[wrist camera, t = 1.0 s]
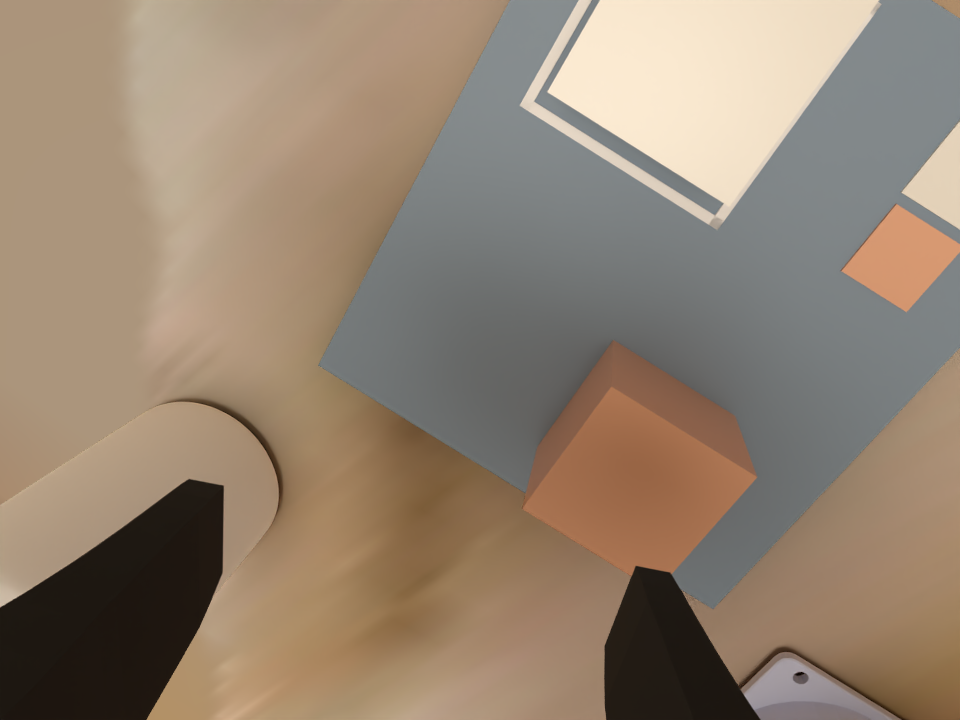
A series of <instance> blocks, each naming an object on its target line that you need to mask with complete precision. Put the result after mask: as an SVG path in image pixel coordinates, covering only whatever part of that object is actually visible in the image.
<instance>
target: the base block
mask: <svg viewBox="0 0 960 720" xmlns="http://www.w3.org/2000/svg"><path fill="white" fill-rule="evenodd" d="M878 1H879V0H600V1H599V3H598V4H597V6H596V8H595V10H594V11H593V13H592V15H591V17H590V18H589V20H588V22H587V23H586V25H585V27H584V29H583V30H582V32H581V34H580V36H579V37H578V39H577V41H576V43H575V44H574V46H573V48H572V50H571V51H570V53H569V55H568V57H567V58H566V60H565V62H564V64H563V65H562V67H561V69H560V71H559V72H558V74H557V76H556V78H555V79H554V81H553V83H552V84H551V86H550V88H549V90H548V91H547V92H548V93H550V94H551V95H553V96H554V97H556V98H557V99H559V100H561V101H562V102H564V103H565V104H567V105H569V106H570V107H572V108H573V109H575V110H576V111H578V112H580V113H581V114H583V115H584V116H586V117H588V118H589V119H591V120H592V121H594V122H596V123H597V124H599V125H600V126H602V127H603V128H605V129H607V130H608V131H610V132H611V133H613V134H615V135H616V136H618V137H619V138H621V139H622V140H624V141H626V142H627V143H629V144H630V145H632V146H634V147H635V148H637V149H638V150H640V151H642V152H643V153H645V154H646V155H648V156H649V157H651V158H653V159H654V160H656V161H657V162H659V163H661V164H662V165H664V166H665V167H667V168H668V169H670V170H672V171H673V172H675V173H676V174H678V175H680V176H681V177H683V178H684V179H686V180H688V181H689V182H691V183H692V184H694V185H695V186H697V187H699V188H700V189H702V190H703V191H705V192H707V193H708V194H710V195H711V196H713V197H714V198H716V199H718V200H719V201H721V202H722V203H724V204H726V205H727V206H729V207H730V206H731V204H732V203H733V202H734V200H735V199H736V197H737V196H738V195H739V193H740V192H741V191H742V189H743V188H744V186H745V185H746V184H747V182H748V181H749V179H750V178H751V177H752V175H753V174H754V173H755V171H756V170H757V168H758V167H759V166H760V164H761V163H762V162H763V160H764V159H765V157H766V156H767V155H768V153H769V152H770V150H771V149H772V148H773V146H774V145H775V144H776V142H777V141H778V139H779V138H780V137H781V135H782V134H783V133H784V131H785V130H786V128H787V127H788V126H789V124H790V123H791V121H792V120H793V119H794V117H795V116H796V115H797V113H798V112H799V110H800V109H801V108H802V106H803V105H804V104H805V102H806V101H807V99H808V98H809V97H810V95H811V94H812V92H813V91H814V90H815V88H816V87H817V86H818V84H819V83H820V81H821V80H822V79H823V77H824V76H825V75H826V73H827V72H828V70H829V69H830V68H831V66H832V65H833V63H834V62H835V61H836V59H837V58H838V57H839V55H840V54H841V52H842V51H843V50H844V48H845V47H846V45H847V44H848V43H849V41H850V40H851V39H852V37H853V36H854V34H855V33H856V32H857V30H858V29H859V28H860V26H861V25H862V23H863V22H864V21H865V19H866V18H867V16H868V15H869V14H870V12H871V11H872V10H873V8H874V7H875V5H876V4H877V3H878Z"/></svg>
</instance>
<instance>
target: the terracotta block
mask: <svg viewBox="0 0 960 720" xmlns="http://www.w3.org/2000/svg"><path fill="white" fill-rule="evenodd" d="M756 478H757V475H756V472H755V470H754V467H753V464H752V461H751V459H750V456H749V453H748V450H747V447H746V445H745V442H744V439H743V436H742V433H741V431H740V428H739V425H738V422H737V420H736V417H735V415H733V414H731V413H730V412H728V411H727V410H725V409H723V408H722V407H720V406H719V405H717V404H715V403H714V402H712V401H711V400H709V399H707V398H706V397H704V396H702V395H701V394H699V393H698V392H696V391H694V390H693V389H691V388H690V387H688V386H686V385H685V384H683V383H682V382H680V381H678V380H677V379H675V378H674V377H672V376H670V375H669V374H667V373H666V372H664V371H662V370H661V369H659V368H658V367H656V366H654V365H653V364H651V363H650V362H648V361H646V360H645V359H643V358H642V357H640V356H638V355H637V354H635V353H634V352H632V351H630V350H629V349H627V348H626V347H624V346H622V345H621V344H619V343H618V342H616V341H614V340H613V341H612V342H611V344H610V345H609V347H608V348H607V349H606V351H605V352H604V354H603V355H602V356H601V358H600V359H599V361H598V362H597V363H596V365H595V366H594V368H593V369H592V371H591V372H590V373H589V375H588V376H587V378H586V379H585V380H584V382H583V383H582V385H581V386H580V387H579V389H578V390H577V392H576V393H575V394H574V396H573V397H572V399H571V400H570V401H569V403H568V404H567V406H566V407H565V408H564V410H563V411H562V413H561V414H560V416H559V417H558V418H557V420H556V421H555V423H554V424H553V425H552V427H551V428H550V430H549V431H548V432H547V434H546V435H545V437H544V438H543V439H542V441H541V442H540V444H539V445H538V446H537V450H536V454H535V458H534V462H533V466H532V470H531V474H530V478H529V482H528V486H527V490H526V494H525V498H524V502H523V506H522V509H523V510H525V511H526V512H528V513H530V514H531V515H533V516H534V517H536V518H538V519H539V520H541V521H543V522H544V523H546V524H547V525H549V526H551V527H552V528H554V529H556V530H557V531H559V532H560V533H562V534H564V535H565V536H567V537H568V538H570V539H572V540H573V541H575V542H577V543H578V544H580V545H581V546H583V547H585V548H586V549H588V550H590V551H591V552H593V553H594V554H596V555H598V556H599V557H601V558H603V559H604V560H606V561H607V562H609V563H611V564H612V565H614V566H615V567H617V568H619V569H620V570H622V571H624V572H625V573H627V574H628V575H630V576H632V574H633V571H634V569H635V566H640V567H645V568H650V569H655V570H660V571H665V572H670V573H671V574H672V573H673V572H674V571H675V570H676V569H677V567H678V566H679V565H680V564H681V563H682V562H683V561H684V560H685V558H686V557H687V556H688V555H689V554H690V553H691V552H692V550H693V549H694V548H695V547H696V546H697V545H698V544H699V543H700V541H701V540H702V539H703V538H704V537H705V536H706V535H707V534H708V532H709V531H710V530H711V529H712V528H713V527H714V526H715V525H716V523H717V522H718V521H719V520H720V519H721V518H722V517H723V515H724V514H725V513H726V512H727V511H728V510H729V509H730V508H731V506H732V505H733V504H734V503H735V502H736V501H737V500H738V499H739V497H740V496H741V495H742V494H743V493H744V492H745V491H746V489H747V488H748V487H749V486H750V485H751V484H752V483H753V482H754V480H755V479H756Z"/></svg>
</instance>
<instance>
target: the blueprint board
mask: <svg viewBox="0 0 960 720" xmlns="http://www.w3.org/2000/svg"><path fill="white" fill-rule="evenodd" d="M599 1H600V0H510V1H509V3H508V5H507V7H506V9H505V11H504V13H503V15H502V17H501V19H500V20H499V22H498V24H497V26H496V28H495V30H494V32H493V34H492V36H491V38H490V40H489V41H488V43H487V45H486V47H485V49H484V51H483V53H482V55H481V57H480V59H479V60H478V62H477V64H476V66H475V68H474V70H473V72H472V74H471V76H470V78H469V79H468V81H467V83H466V85H465V87H464V89H463V91H462V93H461V95H460V97H459V98H458V100H457V102H456V104H455V106H454V108H453V110H452V112H451V114H450V116H449V117H448V119H447V121H446V123H445V125H444V127H443V129H442V131H441V133H440V135H439V137H438V138H437V140H436V142H435V144H434V146H433V148H432V150H431V152H430V154H429V156H428V157H427V159H426V161H425V163H424V165H423V167H422V169H421V171H420V173H419V175H418V176H417V178H416V180H415V182H414V184H413V186H412V188H411V190H410V192H409V194H408V195H407V197H406V199H405V201H404V203H403V205H402V207H401V209H400V211H399V213H398V214H397V216H396V218H395V220H394V222H393V224H392V226H391V228H390V230H389V232H388V234H387V235H386V237H385V239H384V241H383V243H382V245H381V247H380V249H379V251H378V253H377V254H376V256H375V258H374V260H373V262H372V264H371V266H370V268H369V270H368V272H367V273H366V275H365V277H364V279H363V281H362V283H361V285H360V287H359V289H358V291H357V292H356V294H355V296H354V298H353V300H352V302H351V304H350V306H349V308H348V310H347V311H346V313H345V315H344V317H343V319H342V321H341V323H340V325H339V327H338V329H337V331H336V332H335V334H334V336H333V338H332V340H331V342H330V344H329V346H328V348H327V350H326V351H325V353H324V355H323V357H322V359H321V361H320V363H319V365H318V366H320V367H322V368H323V369H325V370H327V371H328V372H330V373H331V374H333V375H335V376H336V377H338V378H339V379H341V380H343V381H344V382H346V383H348V384H349V385H351V386H352V387H354V388H356V389H357V390H359V391H361V392H362V393H364V394H365V395H367V396H369V397H370V398H372V399H374V400H375V401H377V402H378V403H380V404H382V405H383V406H385V407H386V408H388V409H390V410H391V411H393V412H395V413H396V414H398V415H399V416H401V417H403V418H404V419H406V420H408V421H409V422H411V423H412V424H414V425H416V426H417V427H419V428H420V429H422V430H424V431H425V432H427V433H429V434H430V435H432V436H433V437H435V438H437V439H438V440H440V441H442V442H443V443H445V444H446V445H448V446H450V447H451V448H453V449H454V450H456V451H458V452H459V453H461V454H463V455H464V456H466V457H467V458H469V459H471V460H472V461H474V462H476V463H477V464H479V465H480V466H482V467H484V468H485V469H487V470H489V471H490V472H492V473H493V474H495V475H497V476H498V477H500V478H501V479H503V480H505V481H506V482H508V483H510V484H511V485H513V486H514V487H516V488H518V489H519V490H521V491H523V492H524V493H526V490H527V486H528V482H529V478H530V474H531V470H532V466H533V462H534V458H535V454H536V450H537V446H538V445H539V444H540V442H541V441H542V439H543V438H544V437H545V435H546V434H547V432H548V431H549V430H550V428H551V427H552V425H553V424H554V423H555V421H556V420H557V418H558V417H559V416H560V414H561V413H562V411H563V410H564V408H565V407H566V406H567V404H568V403H569V401H570V400H571V399H572V397H573V396H574V394H575V393H576V392H577V390H578V389H579V387H580V386H581V385H582V383H583V382H584V380H585V379H586V378H587V376H588V375H589V373H590V372H591V371H592V369H593V368H594V366H595V365H596V363H597V362H598V361H599V359H600V358H601V356H602V355H603V354H604V352H605V351H606V349H607V348H608V347H609V345H610V344H611V342H612V341H613V340H614V341H616V342H618V343H619V344H621V345H622V346H624V347H626V348H627V349H629V350H630V351H632V352H634V353H635V354H637V355H638V356H640V357H642V358H643V359H645V360H646V361H648V362H650V363H651V364H653V365H654V366H656V367H658V368H659V369H661V370H662V371H664V372H666V373H667V374H669V375H670V376H672V377H674V378H675V379H677V380H678V381H680V382H682V383H683V384H685V385H686V386H688V387H690V388H691V389H693V390H694V391H696V392H698V393H699V394H701V395H702V396H704V397H706V398H707V399H709V400H711V401H712V402H714V403H715V404H717V405H719V406H720V407H722V408H723V409H725V410H727V411H728V412H730V413H731V414H733V415H735V417H736V420H737V422H738V425H739V428H740V431H741V433H742V436H743V439H744V442H745V445H746V447H747V450H748V453H749V456H750V459H751V461H752V464H753V467H754V470H755V472H756V475H757V478H756V479H755V480H754V482H753V483H752V484H751V485H750V486H749V487H748V488H747V489H746V491H745V492H744V493H743V494H742V495H741V496H740V497H739V499H738V500H737V501H736V502H735V503H734V504H733V505H732V506H731V508H730V509H729V510H728V511H727V512H726V513H725V514H724V515H723V517H722V518H721V519H720V520H719V521H718V522H717V523H716V525H715V526H714V527H713V528H712V529H711V530H710V531H709V532H708V534H707V535H706V536H705V537H704V538H703V539H702V540H701V541H700V543H699V544H698V545H697V546H696V547H695V548H694V549H693V550H692V552H691V553H690V554H689V555H688V556H687V557H686V558H685V560H684V561H683V562H682V563H681V564H680V565H679V566H678V567H677V569H676V570H675V571H674V572H673V573H672V576H673V577H674V579H675V581H676V582H677V584H678V586H679V588H680V589H681V590H683V591H684V592H686V593H688V594H689V595H691V596H693V597H694V598H696V599H697V600H699V601H701V602H702V603H704V604H706V605H707V606H709V607H710V608H712V609H714V608H715V607H716V606H717V604H718V603H719V602H720V601H721V600H722V599H723V598H724V597H725V596H726V595H727V594H728V593H729V592H730V591H731V590H732V589H733V588H734V586H735V585H736V584H737V583H738V582H739V581H740V580H741V579H742V578H743V577H744V576H745V575H746V574H747V573H748V572H749V571H750V569H751V568H752V567H753V566H754V565H755V564H756V563H757V562H758V561H759V560H760V559H761V558H762V557H763V556H764V555H765V554H766V553H767V551H768V550H769V549H770V548H771V547H772V546H773V545H774V544H775V543H776V542H777V541H778V540H779V539H780V538H781V537H782V536H783V535H784V533H785V532H786V531H787V530H788V529H789V528H790V527H791V526H792V525H793V524H794V523H795V522H796V521H797V520H798V519H799V518H800V516H801V515H802V514H803V513H804V512H805V511H806V510H807V509H808V508H809V507H810V506H811V505H812V504H813V503H814V502H815V501H816V500H817V498H818V497H819V496H820V495H821V494H822V493H823V492H824V491H825V490H826V489H827V488H828V487H829V486H830V485H831V484H832V483H833V481H834V480H835V479H836V478H837V477H838V476H839V475H840V474H841V473H842V472H843V471H844V470H845V469H846V468H847V467H848V466H849V465H850V463H851V462H852V461H853V460H854V459H855V458H856V457H857V456H858V455H859V454H860V453H861V452H862V451H863V450H864V449H865V448H866V446H867V445H868V444H869V443H870V442H871V441H872V440H873V439H874V438H875V437H876V436H877V435H878V434H879V433H880V432H881V431H882V430H883V428H884V427H885V426H886V425H887V424H888V423H889V422H890V421H891V420H892V419H893V418H894V417H895V416H896V415H897V414H898V413H899V412H900V410H901V409H902V408H903V407H904V406H905V405H906V404H907V403H908V402H909V401H910V400H911V399H912V398H913V397H914V396H915V395H916V393H917V392H918V391H919V390H920V389H921V388H922V387H923V386H924V385H925V384H926V383H927V382H928V381H929V380H930V379H931V378H932V377H933V375H934V374H935V373H936V372H937V371H938V370H939V369H940V368H941V367H942V366H943V365H944V364H945V363H946V362H947V361H948V360H949V358H950V357H951V356H952V355H953V354H954V353H955V352H956V351H957V350H958V349H959V348H960V18H958V17H957V16H955V15H953V14H952V13H950V12H949V11H947V10H946V9H944V8H942V7H941V6H939V5H938V4H936V3H935V2H933V1H932V0H879V1H878V3H877V4H876V5H875V7H874V8H873V10H872V11H871V12H870V14H869V15H868V16H867V18H866V19H865V21H864V22H863V23H862V25H861V26H860V28H859V29H858V30H857V32H856V33H855V34H854V36H853V37H852V39H851V40H850V41H849V43H848V44H847V45H846V47H845V48H844V50H843V51H842V52H841V54H840V55H839V57H838V58H837V59H836V61H835V62H834V63H833V65H832V66H831V68H830V69H829V70H828V72H827V73H826V75H825V76H824V77H823V79H822V80H821V81H820V83H819V84H818V86H817V87H816V88H815V90H814V91H813V92H812V94H811V95H810V97H809V98H808V99H807V101H806V102H805V104H804V105H803V106H802V108H801V109H800V110H799V112H798V113H797V115H796V116H795V117H794V119H793V120H792V121H791V123H790V124H789V126H788V127H787V128H786V130H785V131H784V133H783V134H782V135H781V137H780V138H779V139H778V141H777V142H776V144H775V145H774V146H773V148H772V149H771V150H770V152H769V153H768V155H767V156H766V157H765V159H764V160H763V162H762V163H761V164H760V166H759V167H758V168H757V170H756V171H755V173H754V174H753V175H752V177H751V178H750V179H749V181H748V182H747V184H746V185H745V186H744V188H743V189H742V191H741V192H740V193H739V195H738V196H737V197H736V199H735V200H734V202H733V203H732V204H731V206H730V207H729V206H727V205H726V204H724V203H722V202H721V201H719V200H718V199H716V198H714V197H713V196H711V195H710V194H708V193H707V192H705V191H703V190H702V189H700V188H699V187H697V186H695V185H694V184H692V183H691V182H689V181H688V180H686V179H684V178H683V177H681V176H680V175H678V174H676V173H675V172H673V171H672V170H670V169H668V168H667V167H665V166H664V165H662V164H661V163H659V162H657V161H656V160H654V159H653V158H651V157H649V156H648V155H646V154H645V153H643V152H642V151H640V150H638V149H637V148H635V147H634V146H632V145H630V144H629V143H627V142H626V141H624V140H622V139H621V138H619V137H618V136H616V135H615V134H613V133H611V132H610V131H608V130H607V129H605V128H603V127H602V126H600V125H599V124H597V123H596V122H594V121H592V120H591V119H589V118H588V117H586V116H584V115H583V114H581V113H580V112H578V111H576V110H575V109H573V108H572V107H570V106H569V105H567V104H565V103H564V102H562V101H561V100H559V99H557V98H556V97H554V96H553V95H551V94H550V93H548V92H547V91H548V90H549V88H550V86H551V84H552V83H553V81H554V79H555V78H556V76H557V74H558V72H559V71H560V69H561V67H562V65H563V64H564V62H565V60H566V58H567V57H568V55H569V53H570V51H571V50H572V48H573V46H574V44H575V43H576V41H577V39H578V37H579V36H580V34H581V32H582V30H583V29H584V27H585V25H586V23H587V22H588V20H589V18H590V17H591V15H592V13H593V11H594V10H595V8H596V6H597V4H598V3H599Z"/></svg>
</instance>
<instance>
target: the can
mask: <svg viewBox="0 0 960 720" xmlns="http://www.w3.org/2000/svg"><path fill="white" fill-rule="evenodd" d="M188 479H192V480H198V481H203V482H208V483H213V484H218V485H223V486H224V522H223V573H222V576H221V578H220V581H219V583H218V585H217V588H216V590H215V593H214V595H215V594H216V593H217V592H218V591H219V589H220V588H221V587H222V586H223V585H224V583H225V582H226V581H227V580H228V578H229V577H230V576H231V575H232V574H233V572H234V571H235V570H236V569H237V568H238V566H239V565H240V564H241V563H242V561H243V560H244V559H245V558H246V557H247V555H248V554H249V553H250V552H251V550H252V549H253V548H254V547H255V546H256V544H257V543H258V542H259V541H260V539H261V538H262V537H263V535H264V534H265V533H266V531H267V530H268V529H269V527H270V525H271V524H272V522H273V520H274V518H275V515H276V512H277V508H278V501H279V488H278V481H277V476H276V473H275V470H274V467H273V464H272V462H271V460H270V458H269V456H268V454H267V452H266V451H265V449H264V448H263V446H262V445H261V443H260V442H259V440H258V439H257V438H256V437H255V436H254V435H253V434H252V432H251V431H249V430H248V429H247V428H246V427H245V426H244V425H243V424H241V423H240V422H239V421H237V420H236V419H234V418H233V417H231V416H230V415H228V414H226V413H224V412H222V411H220V410H218V409H216V408H213V407H210V406H207V405H204V404H199V403H194V402H172V403H166V404H162V405H159V406H156V407H153V408H151V409H149V410H147V411H146V412H144V413H142V414H141V415H139V416H138V417H136V418H134V419H133V420H131V421H130V422H128V423H126V424H125V425H123V426H122V427H120V428H119V429H117V430H116V431H114V432H112V433H111V434H110V435H108V436H106V437H105V438H103V439H101V440H100V441H98V442H97V443H95V444H94V445H92V446H91V447H89V448H87V449H86V450H84V451H83V452H81V453H80V454H78V455H77V456H75V457H73V458H72V459H70V460H69V461H67V462H66V463H64V464H63V465H61V466H60V467H58V468H56V469H55V470H53V471H52V472H50V473H49V474H47V475H46V476H44V477H43V478H41V479H39V480H38V481H36V482H35V483H33V484H32V485H30V486H29V487H27V488H26V489H24V490H23V491H21V492H20V493H18V494H16V495H15V496H13V497H12V498H10V499H9V500H7V501H6V502H4V503H3V504H1V505H0V607H1V606H3V605H5V604H6V603H8V602H10V601H12V600H13V599H15V598H17V597H18V596H20V595H22V594H23V593H25V592H27V591H28V590H30V589H31V588H33V587H34V586H36V585H38V584H39V583H41V582H42V581H44V580H45V579H47V578H48V577H50V576H52V575H53V574H55V573H56V572H58V571H59V570H61V569H63V568H64V567H66V566H67V565H69V564H70V563H72V562H73V561H75V560H76V559H78V558H79V557H81V556H82V555H84V554H85V553H87V552H88V551H89V550H91V549H92V548H94V547H95V546H97V545H98V544H99V543H101V542H102V541H104V540H105V539H107V538H108V537H109V536H111V535H112V534H114V533H115V532H117V531H118V530H119V529H121V528H122V527H123V526H125V525H126V524H128V523H129V522H130V521H132V520H133V519H134V518H136V517H137V516H139V515H140V514H141V513H143V512H144V511H145V510H147V509H148V508H149V507H151V506H152V505H153V504H155V503H156V502H157V501H159V500H160V499H161V498H163V497H164V496H165V495H167V494H168V493H169V492H171V491H172V490H173V489H175V488H176V487H177V486H179V485H180V484H182V483H183V482H185V481H186V480H188ZM214 595H213V597H214ZM213 597H212V598H213Z"/></svg>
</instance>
